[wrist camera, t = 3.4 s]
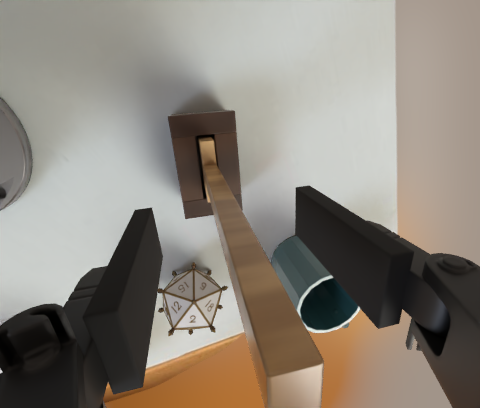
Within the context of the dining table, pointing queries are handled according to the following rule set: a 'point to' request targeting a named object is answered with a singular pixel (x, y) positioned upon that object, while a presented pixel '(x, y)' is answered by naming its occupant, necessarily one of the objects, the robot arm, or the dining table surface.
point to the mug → (312, 288)
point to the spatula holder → (188, 158)
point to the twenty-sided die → (191, 300)
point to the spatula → (262, 302)
